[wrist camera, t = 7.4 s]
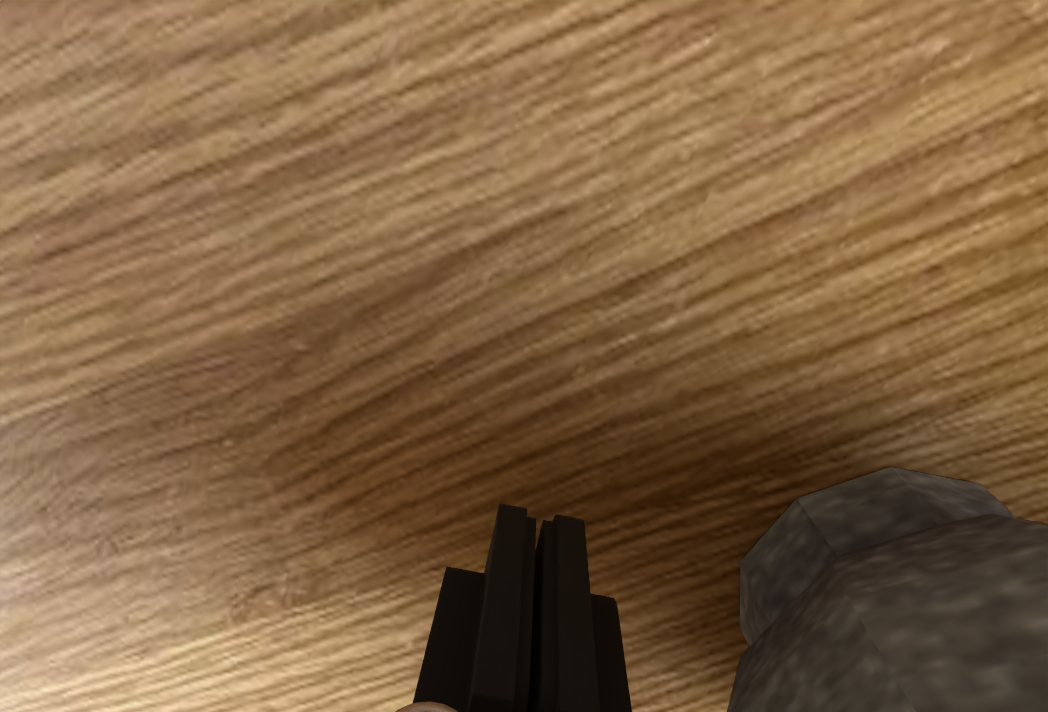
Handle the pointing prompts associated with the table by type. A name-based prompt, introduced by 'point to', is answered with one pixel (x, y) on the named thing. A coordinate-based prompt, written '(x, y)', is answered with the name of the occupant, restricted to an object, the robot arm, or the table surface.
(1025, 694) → the mortar and pestle
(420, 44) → the table surface
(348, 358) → the table surface
